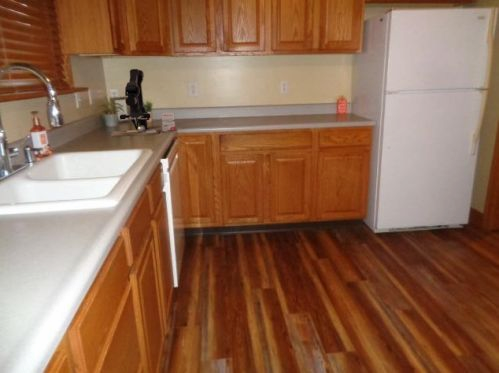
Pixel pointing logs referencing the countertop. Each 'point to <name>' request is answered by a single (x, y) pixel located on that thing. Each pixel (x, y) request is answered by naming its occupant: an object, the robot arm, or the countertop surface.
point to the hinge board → (141, 132)
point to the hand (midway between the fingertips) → (136, 129)
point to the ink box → (167, 121)
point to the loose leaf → (134, 130)
